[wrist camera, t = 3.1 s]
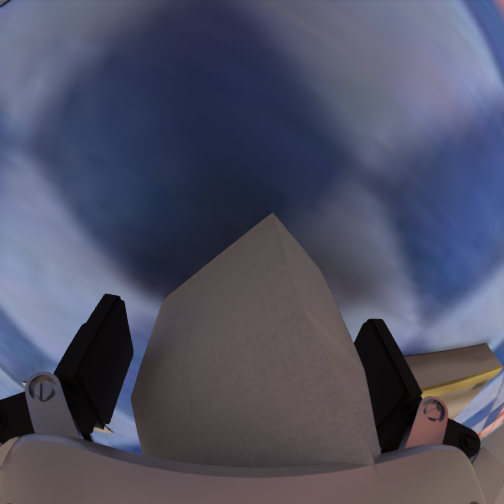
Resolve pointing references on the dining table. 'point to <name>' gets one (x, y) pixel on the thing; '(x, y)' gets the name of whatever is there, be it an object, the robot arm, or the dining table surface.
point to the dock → (454, 374)
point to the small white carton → (254, 365)
